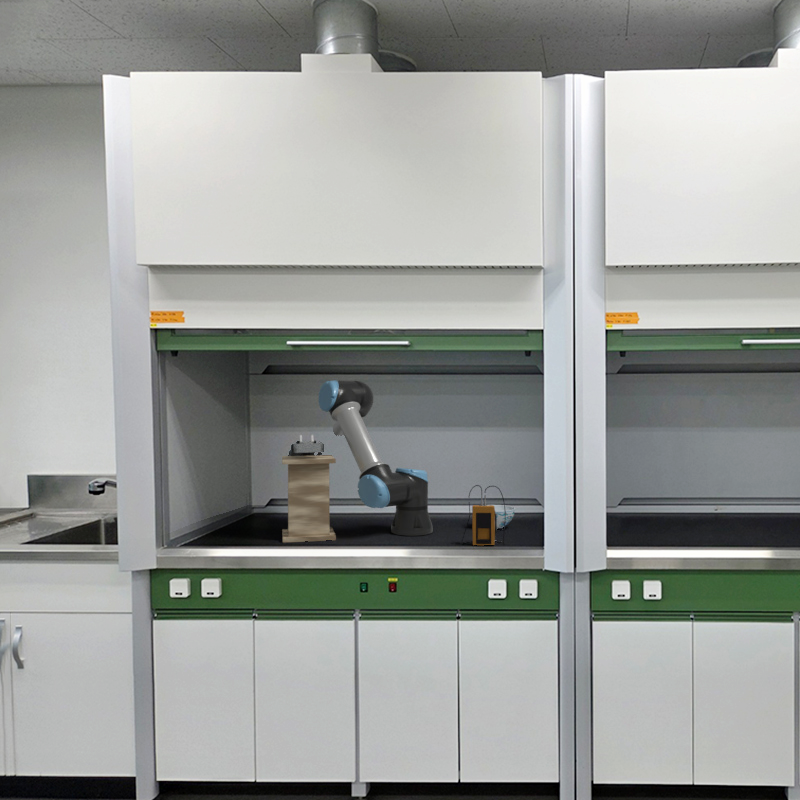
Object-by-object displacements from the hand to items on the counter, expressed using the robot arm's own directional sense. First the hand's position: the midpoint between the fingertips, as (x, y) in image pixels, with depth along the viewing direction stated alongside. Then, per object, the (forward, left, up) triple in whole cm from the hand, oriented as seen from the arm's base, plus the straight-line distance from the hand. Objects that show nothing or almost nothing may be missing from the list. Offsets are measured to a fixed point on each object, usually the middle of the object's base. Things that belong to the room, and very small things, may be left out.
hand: (306, 438), depth 246 cm
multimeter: (-65, -12, -34) cm, 74 cm away
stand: (-7, +8, -34) cm, 36 cm away
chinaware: (-59, -38, -34) cm, 78 cm away
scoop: (-2, +3, -4) cm, 6 cm away
